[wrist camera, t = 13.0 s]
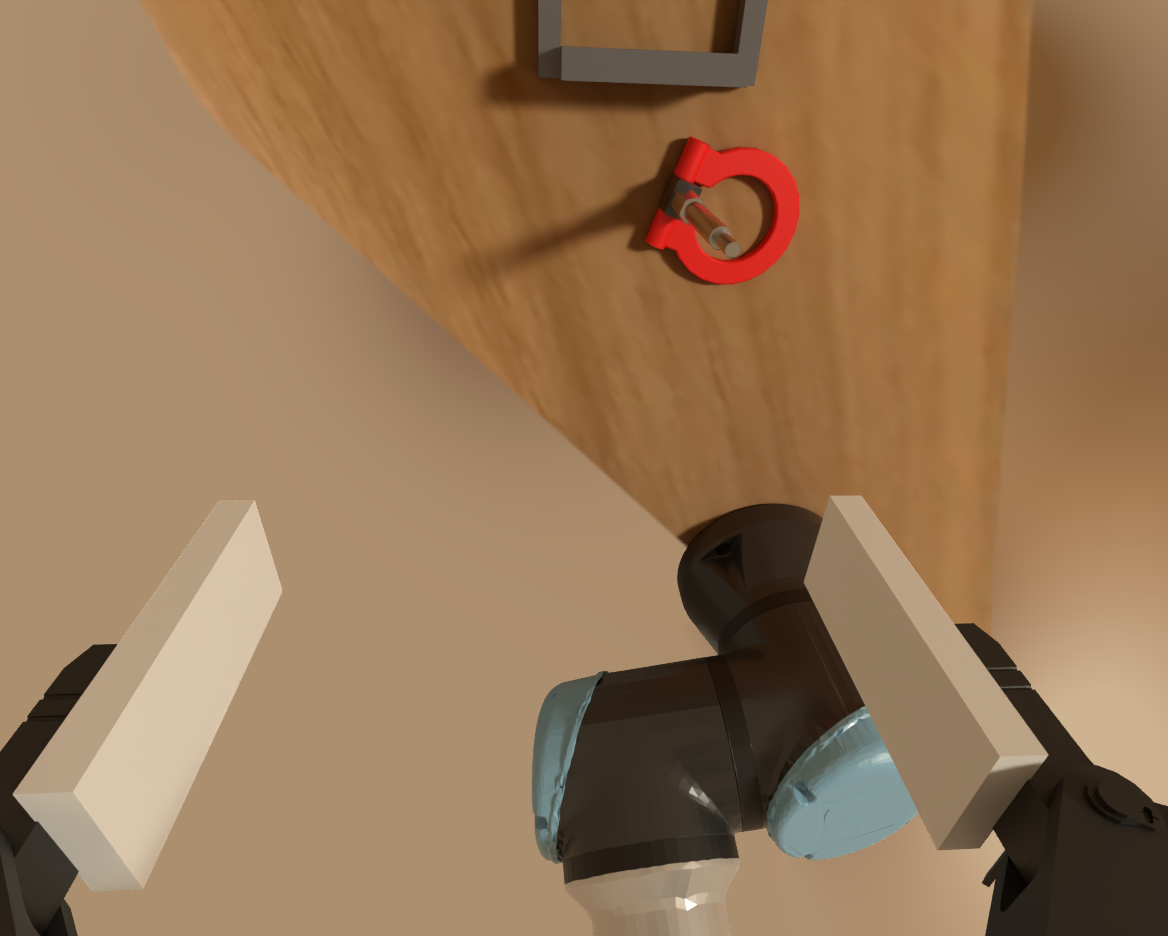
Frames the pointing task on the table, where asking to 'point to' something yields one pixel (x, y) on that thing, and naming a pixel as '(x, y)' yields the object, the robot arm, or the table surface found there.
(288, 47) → the table surface
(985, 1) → the table surface
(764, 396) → the table surface
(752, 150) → the tow hook
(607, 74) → the grey square frame
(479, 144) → the table surface
